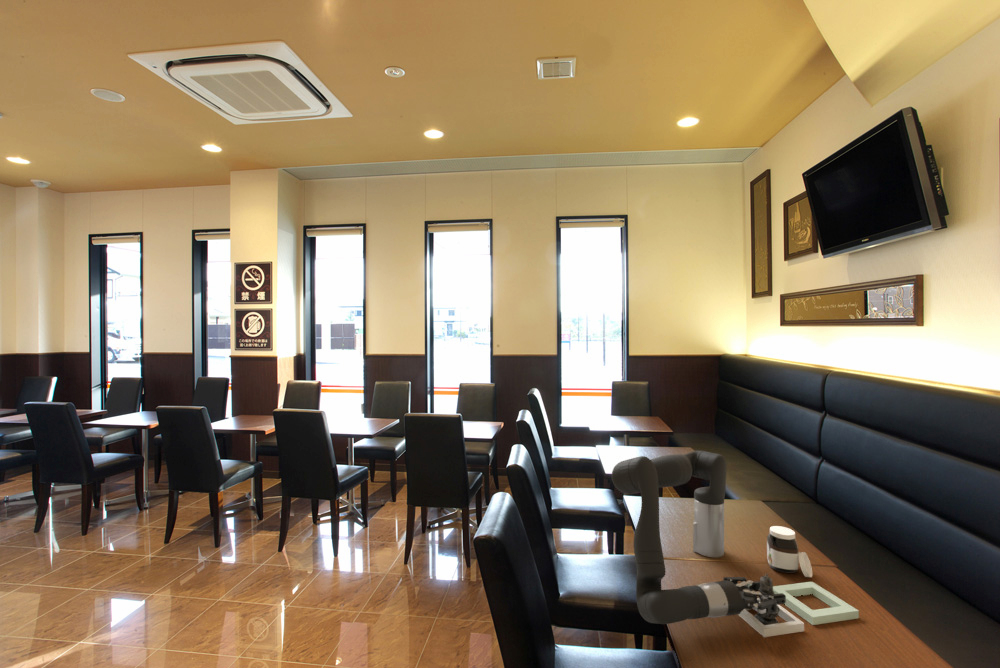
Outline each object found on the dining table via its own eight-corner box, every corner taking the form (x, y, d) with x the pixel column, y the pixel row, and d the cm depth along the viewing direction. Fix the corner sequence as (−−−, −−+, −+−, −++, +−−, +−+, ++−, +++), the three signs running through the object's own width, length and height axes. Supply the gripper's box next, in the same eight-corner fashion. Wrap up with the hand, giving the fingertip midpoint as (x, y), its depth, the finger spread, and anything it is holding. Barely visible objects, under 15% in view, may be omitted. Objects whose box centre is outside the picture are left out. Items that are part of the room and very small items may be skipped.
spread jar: (763, 558, 150) (764, 522, 150) (803, 562, 147) (803, 526, 147) (775, 577, 138) (775, 538, 138) (818, 582, 135) (818, 543, 135)
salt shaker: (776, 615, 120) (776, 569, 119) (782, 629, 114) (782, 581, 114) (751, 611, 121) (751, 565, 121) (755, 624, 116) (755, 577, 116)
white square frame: (763, 637, 111) (763, 629, 111) (731, 609, 122) (731, 601, 122) (804, 631, 113) (804, 623, 113) (768, 604, 124) (768, 596, 124)
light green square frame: (812, 625, 116) (812, 617, 116) (769, 593, 129) (769, 586, 129) (858, 618, 118) (858, 610, 118) (812, 588, 132) (812, 581, 132)
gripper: (736, 600, 108) (798, 592, 111) (699, 569, 122) (754, 563, 125) (736, 632, 108) (798, 623, 111) (699, 597, 122) (754, 590, 125)
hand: (775, 591), depth 118 cm, fingers open, 5 cm apart
